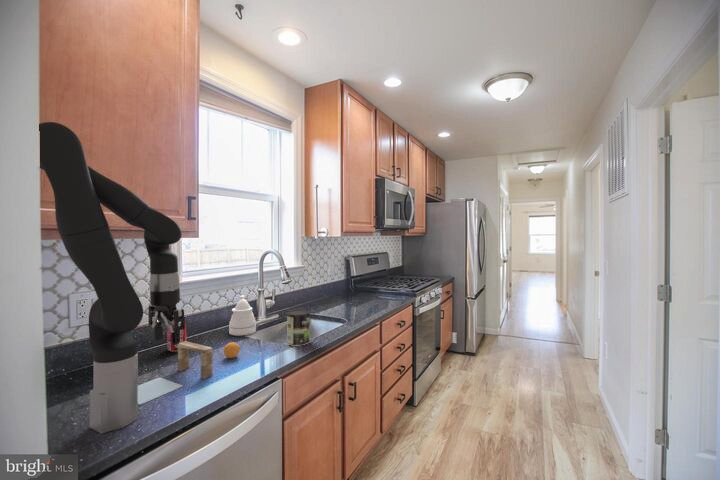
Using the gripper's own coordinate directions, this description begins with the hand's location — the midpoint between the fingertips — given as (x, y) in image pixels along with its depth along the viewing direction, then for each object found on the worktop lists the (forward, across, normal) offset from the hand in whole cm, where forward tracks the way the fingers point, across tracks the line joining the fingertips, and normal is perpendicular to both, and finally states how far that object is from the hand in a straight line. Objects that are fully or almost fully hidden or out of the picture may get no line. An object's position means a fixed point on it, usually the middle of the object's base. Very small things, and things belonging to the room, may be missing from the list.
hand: (167, 341), depth 95 cm
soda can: (+18, -38, +26) cm, 50 cm away
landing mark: (+17, -10, 0) cm, 20 cm away
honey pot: (+20, -34, +58) cm, 70 cm away
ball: (+15, -10, +31) cm, 36 cm away
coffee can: (+20, +2, +58) cm, 61 cm away
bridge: (+18, -10, +15) cm, 25 cm away
